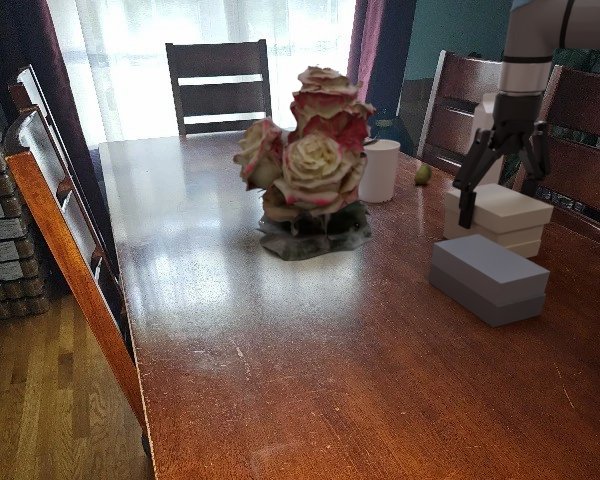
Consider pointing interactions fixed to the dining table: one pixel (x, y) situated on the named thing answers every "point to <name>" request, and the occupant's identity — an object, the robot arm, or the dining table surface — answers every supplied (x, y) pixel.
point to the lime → (423, 174)
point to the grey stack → (488, 279)
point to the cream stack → (497, 235)
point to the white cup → (379, 171)
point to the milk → (486, 121)
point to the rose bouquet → (311, 168)
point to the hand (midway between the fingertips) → (493, 221)
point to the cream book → (502, 208)
